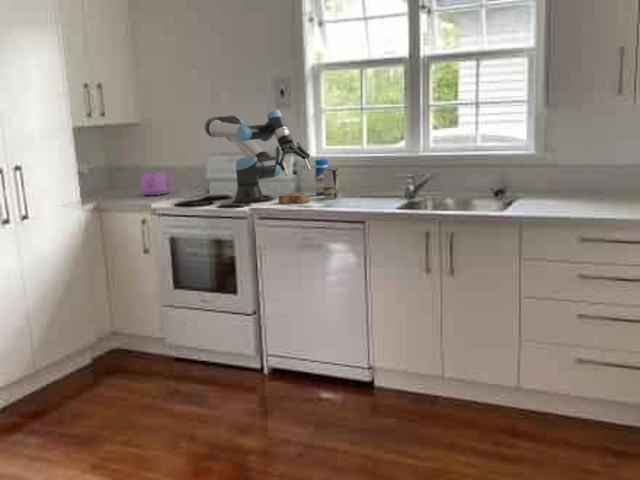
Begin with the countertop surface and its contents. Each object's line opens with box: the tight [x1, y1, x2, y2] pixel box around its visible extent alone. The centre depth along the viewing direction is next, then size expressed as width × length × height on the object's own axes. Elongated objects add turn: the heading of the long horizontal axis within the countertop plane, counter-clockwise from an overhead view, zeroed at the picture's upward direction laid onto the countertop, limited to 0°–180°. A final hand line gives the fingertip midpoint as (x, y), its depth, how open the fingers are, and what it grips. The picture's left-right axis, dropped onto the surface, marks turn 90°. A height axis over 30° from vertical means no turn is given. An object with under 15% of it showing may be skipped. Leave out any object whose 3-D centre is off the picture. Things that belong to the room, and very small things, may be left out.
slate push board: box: [275, 199, 333, 209], centre depth 341 cm, size 26×18×1 cm
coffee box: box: [323, 167, 340, 201], centre depth 351 cm, size 9×6×16 cm
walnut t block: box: [278, 191, 310, 204], centre depth 344 cm, size 14×13×4 cm
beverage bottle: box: [314, 158, 329, 197], centre depth 365 cm, size 8×8×20 cm
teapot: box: [140, 169, 178, 196], centre depth 406 cm, size 23×21×15 cm
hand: (298, 172), depth 350 cm, fingers open, 13 cm apart
